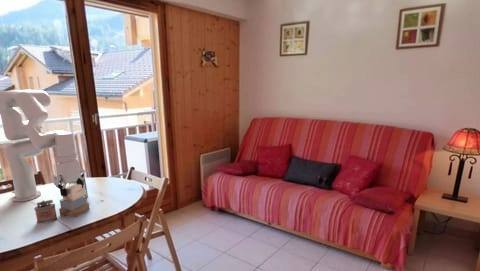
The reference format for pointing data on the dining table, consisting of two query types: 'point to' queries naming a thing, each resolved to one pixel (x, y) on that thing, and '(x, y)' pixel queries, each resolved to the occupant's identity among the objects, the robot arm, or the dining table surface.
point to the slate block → (73, 203)
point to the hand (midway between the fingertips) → (72, 191)
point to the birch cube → (73, 192)
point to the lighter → (45, 212)
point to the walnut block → (74, 211)
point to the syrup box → (83, 186)
